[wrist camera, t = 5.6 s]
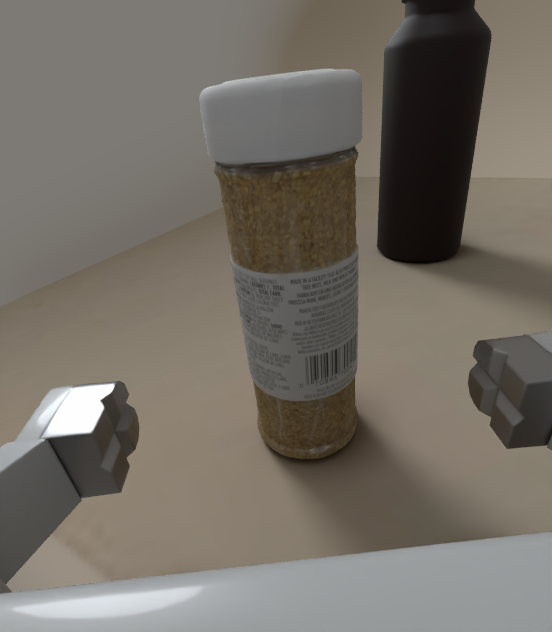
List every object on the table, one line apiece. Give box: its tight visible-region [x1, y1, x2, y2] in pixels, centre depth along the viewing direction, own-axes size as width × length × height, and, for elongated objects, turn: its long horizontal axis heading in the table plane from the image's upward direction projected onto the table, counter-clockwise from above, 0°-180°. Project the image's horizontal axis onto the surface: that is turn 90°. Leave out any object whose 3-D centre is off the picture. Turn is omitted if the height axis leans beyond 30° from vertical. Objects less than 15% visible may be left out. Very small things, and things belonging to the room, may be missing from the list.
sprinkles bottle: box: [199, 69, 362, 459], centre depth 14 cm, size 5×5×14 cm
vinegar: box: [377, 0, 491, 262], centre depth 29 cm, size 7×7×20 cm
